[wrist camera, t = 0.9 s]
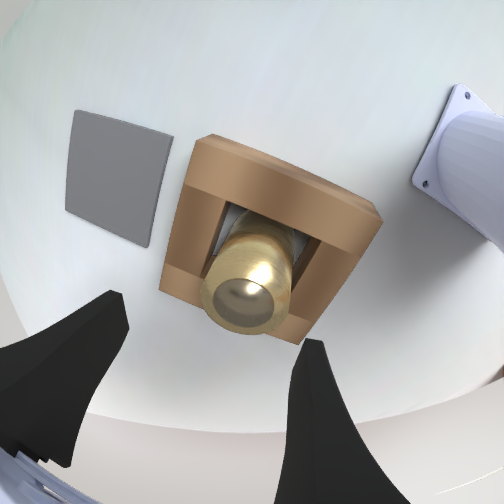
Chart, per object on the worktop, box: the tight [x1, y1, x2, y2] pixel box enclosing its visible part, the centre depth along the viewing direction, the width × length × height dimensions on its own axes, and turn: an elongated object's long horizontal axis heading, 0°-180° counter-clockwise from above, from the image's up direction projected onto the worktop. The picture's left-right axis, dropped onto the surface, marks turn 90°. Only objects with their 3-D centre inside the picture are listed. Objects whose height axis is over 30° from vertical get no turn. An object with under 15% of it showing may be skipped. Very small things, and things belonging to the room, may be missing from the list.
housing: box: [159, 134, 383, 345], centre depth 18 cm, size 11×11×3 cm
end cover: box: [200, 210, 295, 335], centre depth 17 cm, size 4×4×7 cm
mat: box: [65, 110, 174, 248], centre depth 19 cm, size 9×9×1 cm
